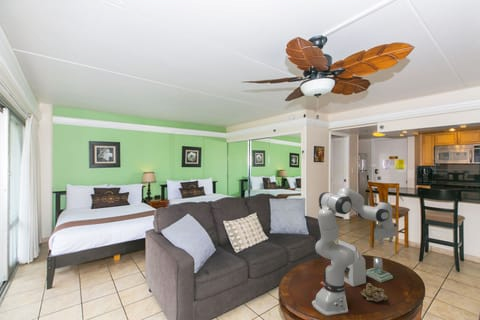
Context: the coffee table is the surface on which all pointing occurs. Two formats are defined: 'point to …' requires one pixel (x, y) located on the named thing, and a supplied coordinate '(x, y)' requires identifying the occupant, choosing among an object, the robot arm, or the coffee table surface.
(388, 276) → the plate
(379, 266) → the brushed metal cylinder
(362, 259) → the gable box
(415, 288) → the coffee table surface
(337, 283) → the robot arm
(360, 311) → the coffee table surface
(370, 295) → the mineral formation
